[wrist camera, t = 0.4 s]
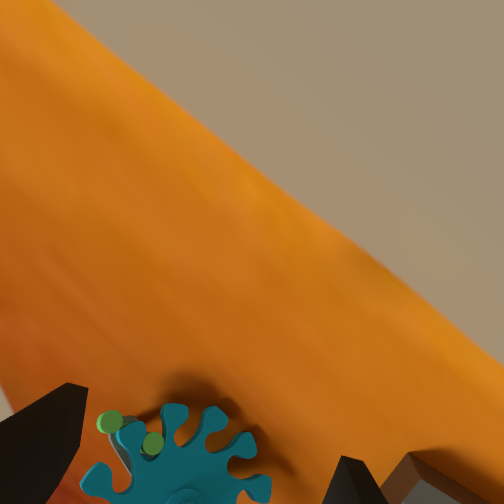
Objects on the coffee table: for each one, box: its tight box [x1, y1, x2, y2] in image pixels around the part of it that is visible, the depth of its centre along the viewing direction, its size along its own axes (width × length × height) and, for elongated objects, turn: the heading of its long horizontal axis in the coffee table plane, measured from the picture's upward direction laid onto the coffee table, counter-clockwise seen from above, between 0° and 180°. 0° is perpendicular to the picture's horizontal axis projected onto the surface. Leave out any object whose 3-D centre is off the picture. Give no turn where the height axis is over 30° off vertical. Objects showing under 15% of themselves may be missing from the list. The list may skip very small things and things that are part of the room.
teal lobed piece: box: [80, 403, 271, 504], centre depth 20 cm, size 11×6×10 cm
